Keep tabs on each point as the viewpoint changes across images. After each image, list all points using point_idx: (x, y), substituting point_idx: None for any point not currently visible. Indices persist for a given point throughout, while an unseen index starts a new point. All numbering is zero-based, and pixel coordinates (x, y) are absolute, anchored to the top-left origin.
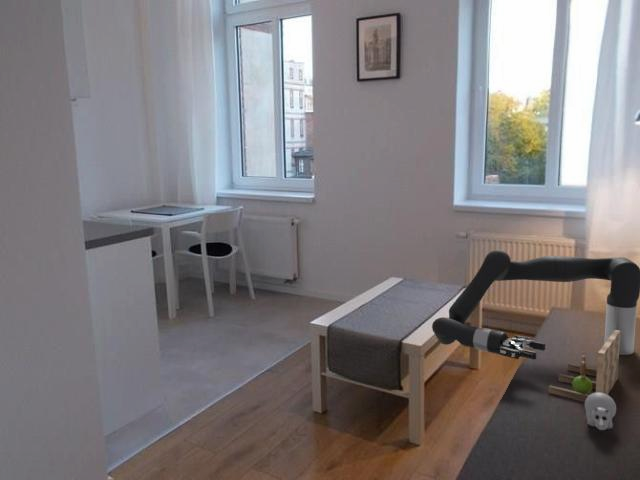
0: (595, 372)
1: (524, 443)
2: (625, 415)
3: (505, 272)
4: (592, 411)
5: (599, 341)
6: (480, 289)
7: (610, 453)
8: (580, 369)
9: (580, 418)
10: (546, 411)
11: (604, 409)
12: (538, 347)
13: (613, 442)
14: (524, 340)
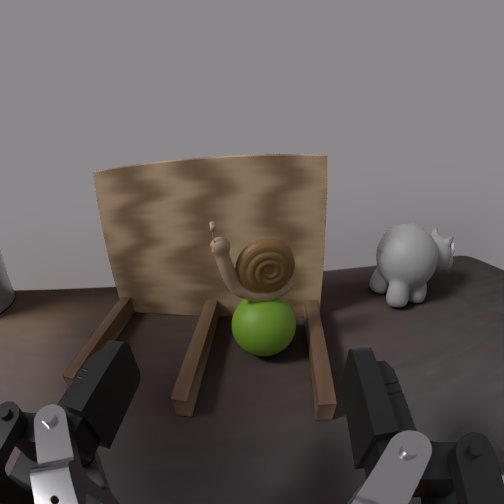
0: (115, 326)
1: None
2: (322, 279)
3: None
4: (445, 253)
5: None
6: None
7: (458, 271)
8: (287, 266)
9: (410, 318)
10: (451, 372)
11: (436, 234)
12: (120, 399)
13: None
14: (76, 481)
